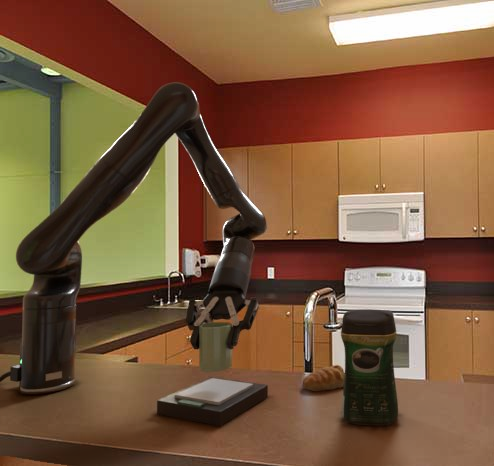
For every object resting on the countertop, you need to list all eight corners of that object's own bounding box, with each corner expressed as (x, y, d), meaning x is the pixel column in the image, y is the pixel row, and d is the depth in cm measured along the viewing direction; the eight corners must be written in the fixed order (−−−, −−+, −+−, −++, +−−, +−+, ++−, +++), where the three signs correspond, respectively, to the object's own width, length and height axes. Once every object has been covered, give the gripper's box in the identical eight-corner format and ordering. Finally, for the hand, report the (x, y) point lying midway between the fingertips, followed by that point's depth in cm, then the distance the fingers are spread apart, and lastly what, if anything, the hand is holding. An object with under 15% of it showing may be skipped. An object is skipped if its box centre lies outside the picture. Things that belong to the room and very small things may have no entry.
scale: (156, 414, 71) (156, 396, 72) (211, 388, 84) (211, 374, 85) (220, 426, 66) (220, 407, 66) (267, 397, 79) (267, 381, 79)
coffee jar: (399, 410, 72) (398, 306, 73) (396, 430, 65) (395, 313, 65) (346, 407, 74) (345, 305, 75) (337, 425, 66) (336, 312, 67)
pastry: (313, 395, 80) (312, 376, 80) (295, 387, 85) (295, 368, 85) (349, 385, 86) (349, 367, 86) (331, 378, 91) (331, 361, 91)
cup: (192, 370, 74) (192, 326, 74) (213, 361, 79) (213, 321, 80) (217, 373, 72) (217, 328, 72) (237, 364, 77) (237, 322, 78)
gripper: (193, 266, 84) (167, 336, 72) (262, 265, 84) (247, 335, 72) (202, 289, 89) (179, 358, 77) (267, 288, 89) (254, 357, 77)
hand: (212, 346), depth 74 cm, fingers closed on cup, 6 cm apart
